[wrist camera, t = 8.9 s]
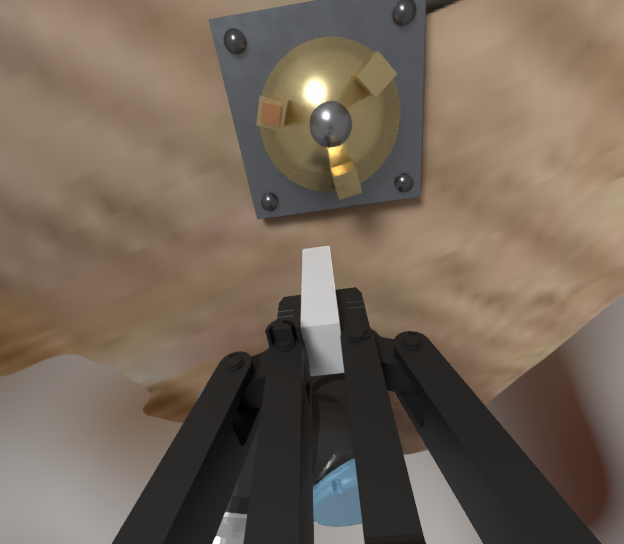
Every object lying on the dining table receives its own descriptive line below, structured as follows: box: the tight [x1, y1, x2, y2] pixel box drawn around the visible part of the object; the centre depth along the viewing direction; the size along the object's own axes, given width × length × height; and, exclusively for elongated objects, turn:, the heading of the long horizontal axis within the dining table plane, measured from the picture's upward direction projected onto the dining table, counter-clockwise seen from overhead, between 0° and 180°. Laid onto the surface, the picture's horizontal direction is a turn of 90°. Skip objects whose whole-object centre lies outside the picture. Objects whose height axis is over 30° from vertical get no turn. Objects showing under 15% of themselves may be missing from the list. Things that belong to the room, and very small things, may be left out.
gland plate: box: [209, 0, 426, 219], centre depth 36 cm, size 20×20×3 cm
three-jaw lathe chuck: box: [256, 37, 401, 200], centre depth 32 cm, size 14×14×6 cm
